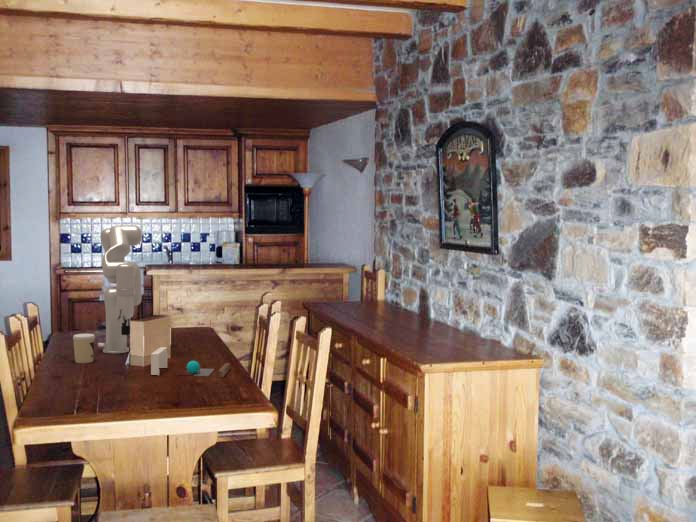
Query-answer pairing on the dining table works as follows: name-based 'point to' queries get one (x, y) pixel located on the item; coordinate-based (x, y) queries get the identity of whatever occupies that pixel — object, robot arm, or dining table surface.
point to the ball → (193, 367)
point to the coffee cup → (84, 348)
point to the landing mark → (204, 372)
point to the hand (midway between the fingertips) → (125, 334)
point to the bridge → (158, 360)
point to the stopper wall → (224, 370)
